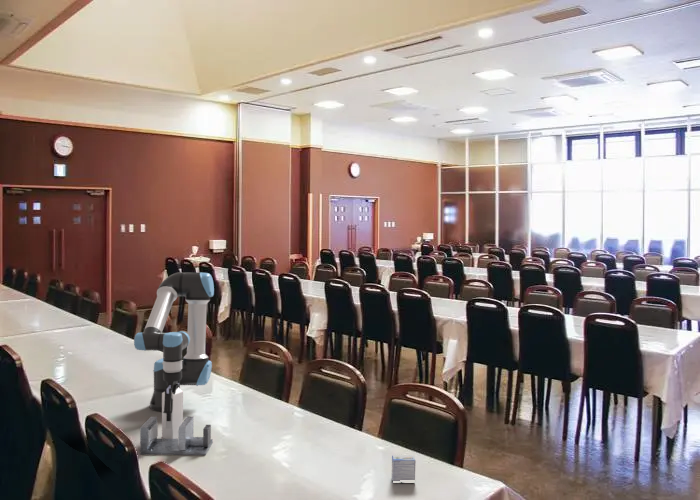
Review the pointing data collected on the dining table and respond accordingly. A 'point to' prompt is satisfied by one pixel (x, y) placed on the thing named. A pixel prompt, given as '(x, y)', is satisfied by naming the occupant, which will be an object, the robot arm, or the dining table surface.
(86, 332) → the dining table surface
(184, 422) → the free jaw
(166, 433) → the milk
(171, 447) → the vise base
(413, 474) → the medicine box
